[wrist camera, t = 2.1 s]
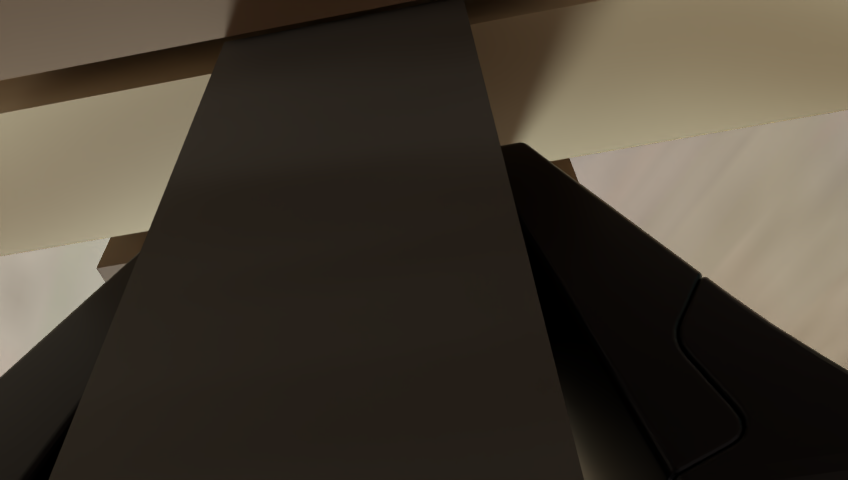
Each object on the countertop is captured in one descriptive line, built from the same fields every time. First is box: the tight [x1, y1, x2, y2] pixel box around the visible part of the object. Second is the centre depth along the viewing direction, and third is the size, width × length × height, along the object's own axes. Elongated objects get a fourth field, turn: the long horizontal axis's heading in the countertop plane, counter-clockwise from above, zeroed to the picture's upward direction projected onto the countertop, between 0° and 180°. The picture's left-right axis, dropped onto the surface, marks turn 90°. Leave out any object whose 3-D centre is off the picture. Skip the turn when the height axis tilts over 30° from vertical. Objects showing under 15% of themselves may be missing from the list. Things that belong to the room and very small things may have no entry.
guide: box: [0, 0, 578, 282], centre depth 11 cm, size 5×8×2 cm
